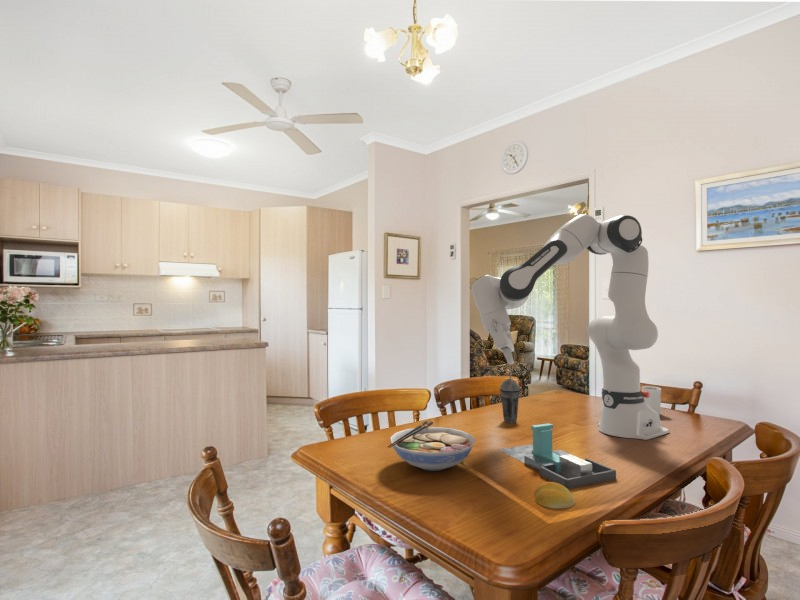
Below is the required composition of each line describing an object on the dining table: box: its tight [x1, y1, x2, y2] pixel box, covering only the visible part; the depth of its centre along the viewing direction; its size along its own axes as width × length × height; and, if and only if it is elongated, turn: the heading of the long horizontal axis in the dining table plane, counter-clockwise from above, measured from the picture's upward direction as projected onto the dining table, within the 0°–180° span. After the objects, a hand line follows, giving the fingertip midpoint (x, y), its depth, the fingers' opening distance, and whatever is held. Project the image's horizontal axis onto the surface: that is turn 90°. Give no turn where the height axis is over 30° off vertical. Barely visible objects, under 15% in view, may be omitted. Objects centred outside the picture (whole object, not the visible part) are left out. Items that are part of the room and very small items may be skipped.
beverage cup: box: [499, 366, 521, 424], centre depth 159 cm, size 7×7×20 cm
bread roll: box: [533, 481, 576, 510], centre depth 93 cm, size 8×9×4 cm
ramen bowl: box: [387, 420, 476, 472], centre depth 115 cm, size 25×23×8 cm
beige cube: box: [559, 453, 581, 477], centre depth 106 cm, size 4×4×4 cm
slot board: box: [497, 443, 582, 472], centre depth 118 cm, size 12×20×3 cm, turn 22°
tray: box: [539, 458, 617, 490], centre depth 104 cm, size 15×9×3 cm, turn 112°
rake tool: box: [530, 422, 560, 472], centre depth 113 cm, size 6×10×10 cm, turn 21°
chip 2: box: [570, 458, 592, 478], centre depth 103 cm, size 4×4×4 cm
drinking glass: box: [641, 385, 662, 416], centre depth 169 cm, size 7×7×10 cm
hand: (511, 363), depth 136 cm, fingers closed
